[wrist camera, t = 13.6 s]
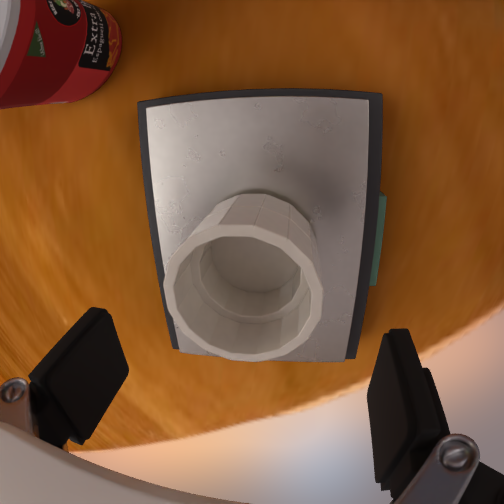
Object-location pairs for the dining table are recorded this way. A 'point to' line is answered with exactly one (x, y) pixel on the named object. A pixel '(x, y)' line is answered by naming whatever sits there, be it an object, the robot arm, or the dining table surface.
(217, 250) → the white cup
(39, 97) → the canned food
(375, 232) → the scale
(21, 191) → the dining table surface
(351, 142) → the platform
